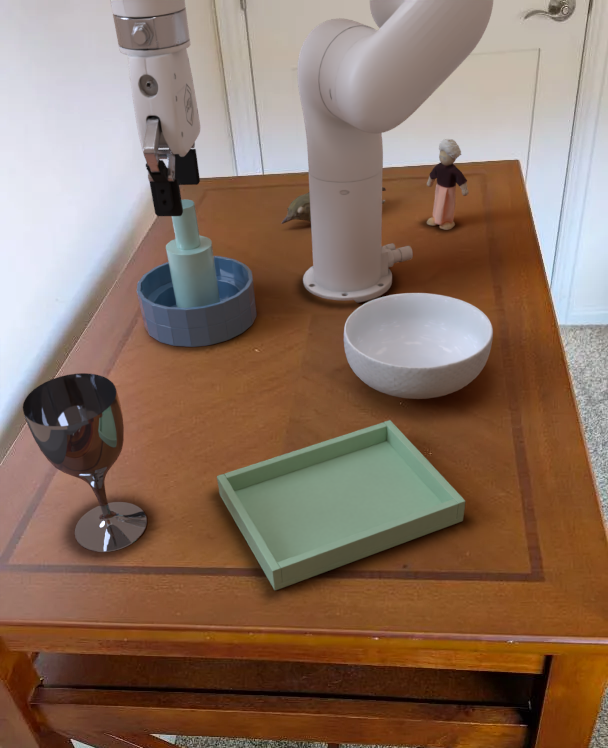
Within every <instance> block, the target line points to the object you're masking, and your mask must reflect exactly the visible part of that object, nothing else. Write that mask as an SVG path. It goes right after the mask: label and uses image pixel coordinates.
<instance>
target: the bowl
mask: <svg viewBox="0 0 608 748" xmlns="http://www.w3.org/2000/svg"><path fill="white" fill-rule="evenodd" d="M214 261H215V268H216V275H217V282H218V289H219V296H220V302H217V303H214V304H210V305H206V306H199V307H190V308H179V307H177V305H176V300H175V295H174V289H173V284H172V279H171V273H170V268H169V263H168V261H166V262H163V263H162V264H159V265H157V266H154V267H153V268H151V269H150V270H149V271H147V272H145V273H144V274H143V275H142V276H141V278H140V279H139V280H138V281H137V283H136V295H137V299H138V303H139V308H140V313H141V316H142V321H143V326H144V329H145V330H146V332H147V334H148V335H149V336H150V337H151V338H152V339H154V340H155V341H158V342H159V343H161V344H166V345H169V346H175V347H187V348H188V347H189V348H196V347H205V346H213V345H216V344H219V343H223V342H226V341H229V340H231V339H233V338H235V337H238V336H239V335H242V334H243V333H244V332H246V331H247V330H248V329H249V328H251V326H252V325H253V324H254V322H255V320H256V318H257V316H258V314H257V313H258V312H257V305H256V296H255V287H254V277H253V271H252V270H251V269H250V268H249V266H247V264H245V263H244V262H241V261H239V260H237V259H235V258H232V257H227V256H221V255H214Z"/></svg>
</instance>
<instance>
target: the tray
mask: <svg viewBox="0 0 608 748" xmlns="http://www.w3.org/2000/svg"><path fill="white" fill-rule="evenodd" d="M216 481H217V486H218V493H219V496H220V498H221V500H222V502H223V503H224V505H225V507H226V508H227V510H228V512H229V514H230V515H231V517H232V519H233V521H234V523H235V524H236V526H237V527H238V529H239V531H240V533H241V534H242V536H243V538H244V540H245V541H246V543H247V546H249V549H250V550H251V552H252V554H253V556H254V557H255V559H256V561H257V562H258V564H259V566H260V567H261V569H262V571H263V573H264V575H265V576H266V579H267V580H268V582H269V583H270V585H271V586H272V587H271V588H273V590H274V591H278V590H281V589H283V588H286V587H289V586H291V585H295V584H297V583H299V582H302V581H305V580H308V579H310V578H313V577H316V576H319V575H321V574H324V573H326V572H328V571H332V570H335V569H337V568H340V567H343V566H345V565H348V564H350V563H351V564H352V563H353V562H356V561H359V560H362V559H364V558H367V557H369V556H370V557H371V556H372V555H375V554H377V553H380V552H384V551H386V550H388V549H391V548H393V547H397V546H399V545H403V544H405V543H407V542H410V541H413V540H416V539H419V538H421V537H424V536H426V535H429V534H432V533H434V532H438V531H440V530H442V529H445V528H448V527H451V526H454V525H455V524H458V523H462V522H463V521H464V516H465V510H466V509H465V507H466V500H465V499H464V498H463V496H462V495H461V494H460V493H459V492H458V491H457V490H456V489H455V488H454V487H453V485H452V484H450V483H449V482H448V481H447V479H446V478H445V476H443V474H441V473H440V472H439V471H438V470H437V469H436V468H435V467H434V466H433V464H432V463H431V462H430V461H429V459H427V458H426V457H425V455H423V453H421V452H420V450H419V449H418V448H417V447H416V446H415V445H414V444H413V443H412V442H411V441H410V440H409V439H408V438H407V436H405V434H404V433H403V432H402V431H401V430H400V429H399V428H398V427H397V426H396V425H395V424H394V423H393V421H392V420H391V419H388V420H386V421H383V422H379V423H377V424H374V425H371V426H368V427H364V428H361V429H358V430H355V431H352V432H349V433H346V434H343V435H340V436H336V437H333V438H330V439H328V440H323V441H320V442H318V443H315V444H312V445H308V446H305V447H303V448H299V449H297V450H292V451H290V452H287V453H284V454H280V455H278V456H275V457H272V458H269V459H265V460H262V461H259V462H255V463H253V464H249V465H247V466H243V467H240V468H237V469H235V470H231V471H228V472H225V473H221V474H218V475H216Z"/></svg>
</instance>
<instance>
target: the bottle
mask: <svg viewBox="0 0 608 748" xmlns="http://www.w3.org/2000/svg"><path fill="white" fill-rule="evenodd" d="M181 201H182V207H183V213H182V215H181V216H171V221H172V228H173V232H174V239H172V240H170V241H169V242H168V243H166V245H165V250H166V251H165V252H166V257H167V262H168V263H169V268H170V273H171V279H172V284H173V289H174V295H175V300H176V305H177V307H179V308H190V307H199V306H206V305H210V304H214V303H217V302H220V296H219V289H218V282H217V275H216V268H215V261H214V256H215V254H214V249H213V247H214V246H213V241H212V240H211V238H209V237H207V236H204V235H200V231H199V224H198V217H197V210H196V204H195V201H194V200H191V199H181Z"/></svg>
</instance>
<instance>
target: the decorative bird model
mask: <svg viewBox="0 0 608 748" xmlns="http://www.w3.org/2000/svg"><path fill="white" fill-rule="evenodd" d="M386 191H387V189H386V187H384V186H382V192H386ZM384 203H386V199H382V205H383V204H384ZM286 209H287V214H286V216H285V217H284V218H283V220H282V221H281V223H280V224H281V225H284V224H286V223H288V222H290V221H294V220H297V221H299V220H300V221H307V222H311V212H310V192H307V193H304V194H300V195H298V196H297V197H296V198H295V199H293V200H292V201H291V202H290V203H289V206H288V207H287V208H286Z"/></svg>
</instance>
